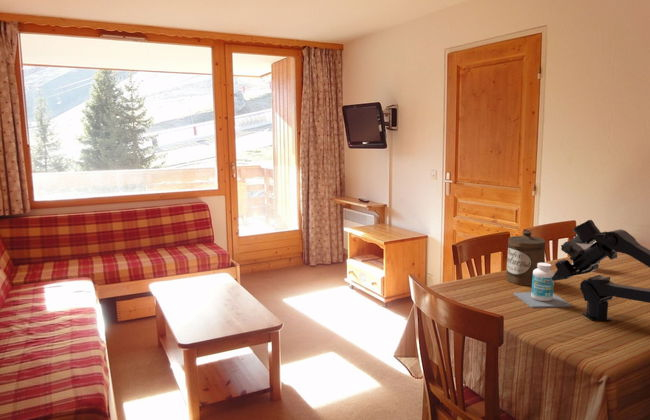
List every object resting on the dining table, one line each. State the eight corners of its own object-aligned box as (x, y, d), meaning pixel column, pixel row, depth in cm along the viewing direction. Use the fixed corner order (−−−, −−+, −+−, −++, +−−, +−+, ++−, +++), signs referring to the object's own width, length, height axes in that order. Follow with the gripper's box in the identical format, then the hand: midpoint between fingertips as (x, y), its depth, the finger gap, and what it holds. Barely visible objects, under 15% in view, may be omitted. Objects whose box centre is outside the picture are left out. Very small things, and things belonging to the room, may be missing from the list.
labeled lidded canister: (498, 277, 207) (501, 228, 204) (525, 274, 212) (528, 226, 209) (523, 287, 194) (526, 235, 190) (551, 283, 199) (555, 232, 195)
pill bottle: (530, 300, 177) (532, 265, 175) (531, 294, 184) (533, 260, 182) (552, 303, 174) (555, 267, 172) (552, 297, 181) (555, 262, 178)
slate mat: (571, 306, 172) (572, 305, 172) (531, 307, 171) (531, 306, 171) (550, 293, 187) (550, 291, 187) (513, 294, 186) (513, 292, 186)
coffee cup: (565, 266, 224) (567, 235, 221) (578, 264, 227) (580, 233, 225) (582, 271, 216) (585, 239, 213) (595, 268, 219) (598, 237, 217)
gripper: (593, 232, 170) (561, 255, 181) (562, 238, 160) (531, 262, 171) (613, 258, 164) (579, 280, 175) (583, 266, 154) (549, 289, 166)
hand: (559, 277), depth 172 cm, fingers open, 9 cm apart
